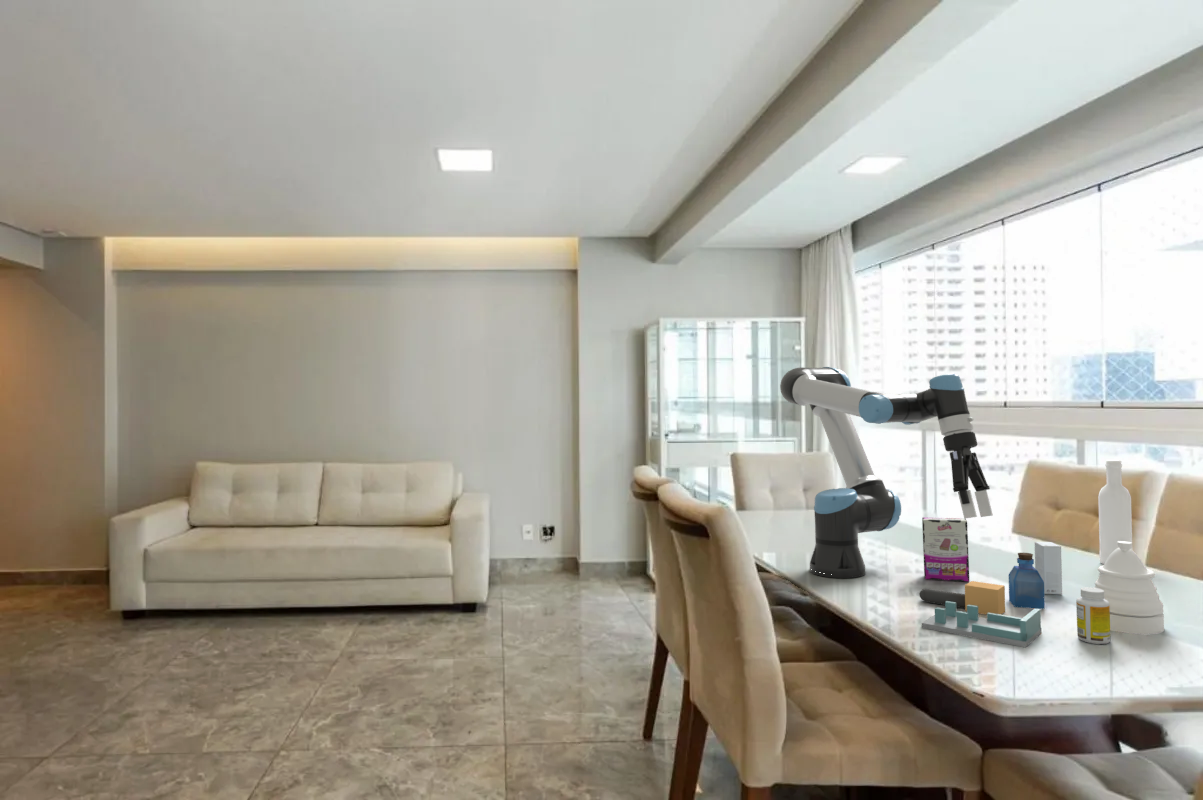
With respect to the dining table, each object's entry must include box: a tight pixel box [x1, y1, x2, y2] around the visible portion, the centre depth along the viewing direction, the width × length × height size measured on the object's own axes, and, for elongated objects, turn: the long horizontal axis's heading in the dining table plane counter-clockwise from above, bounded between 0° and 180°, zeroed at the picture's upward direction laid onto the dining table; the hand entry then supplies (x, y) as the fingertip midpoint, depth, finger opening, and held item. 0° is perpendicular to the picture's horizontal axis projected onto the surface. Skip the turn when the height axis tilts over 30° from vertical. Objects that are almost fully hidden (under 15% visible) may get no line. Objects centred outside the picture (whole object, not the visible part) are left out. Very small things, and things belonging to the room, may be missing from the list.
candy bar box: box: [921, 516, 970, 583], centre depth 200 cm, size 11×5×16 cm, turn 68°
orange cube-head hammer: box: [919, 580, 1006, 616], centre depth 173 cm, size 18×5×6 cm, turn 46°
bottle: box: [1097, 459, 1134, 565], centre depth 212 cm, size 8×8×30 cm
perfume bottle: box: [1008, 552, 1046, 610], centre depth 173 cm, size 6×6×12 cm
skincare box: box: [1034, 541, 1063, 595], centre depth 184 cm, size 6×4×12 cm
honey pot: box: [1093, 541, 1165, 635], centre depth 157 cm, size 13×13×18 cm
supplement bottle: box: [1075, 586, 1112, 645], centre depth 147 cm, size 6×6×10 cm
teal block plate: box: [921, 601, 1042, 648], centre depth 155 cm, size 20×12×5 cm, turn 46°
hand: (979, 517), depth 182 cm, fingers open, 13 cm apart
